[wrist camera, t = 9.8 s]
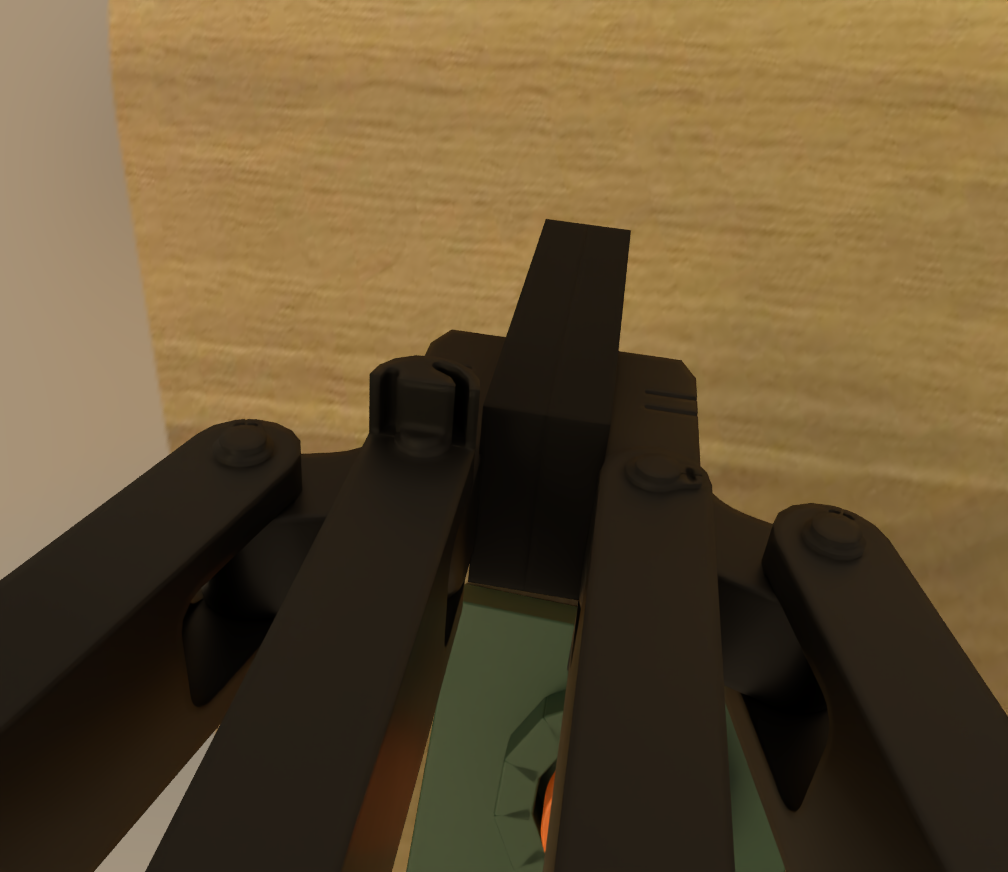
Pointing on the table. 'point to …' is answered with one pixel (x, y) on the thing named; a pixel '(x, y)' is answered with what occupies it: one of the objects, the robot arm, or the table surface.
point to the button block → (522, 745)
